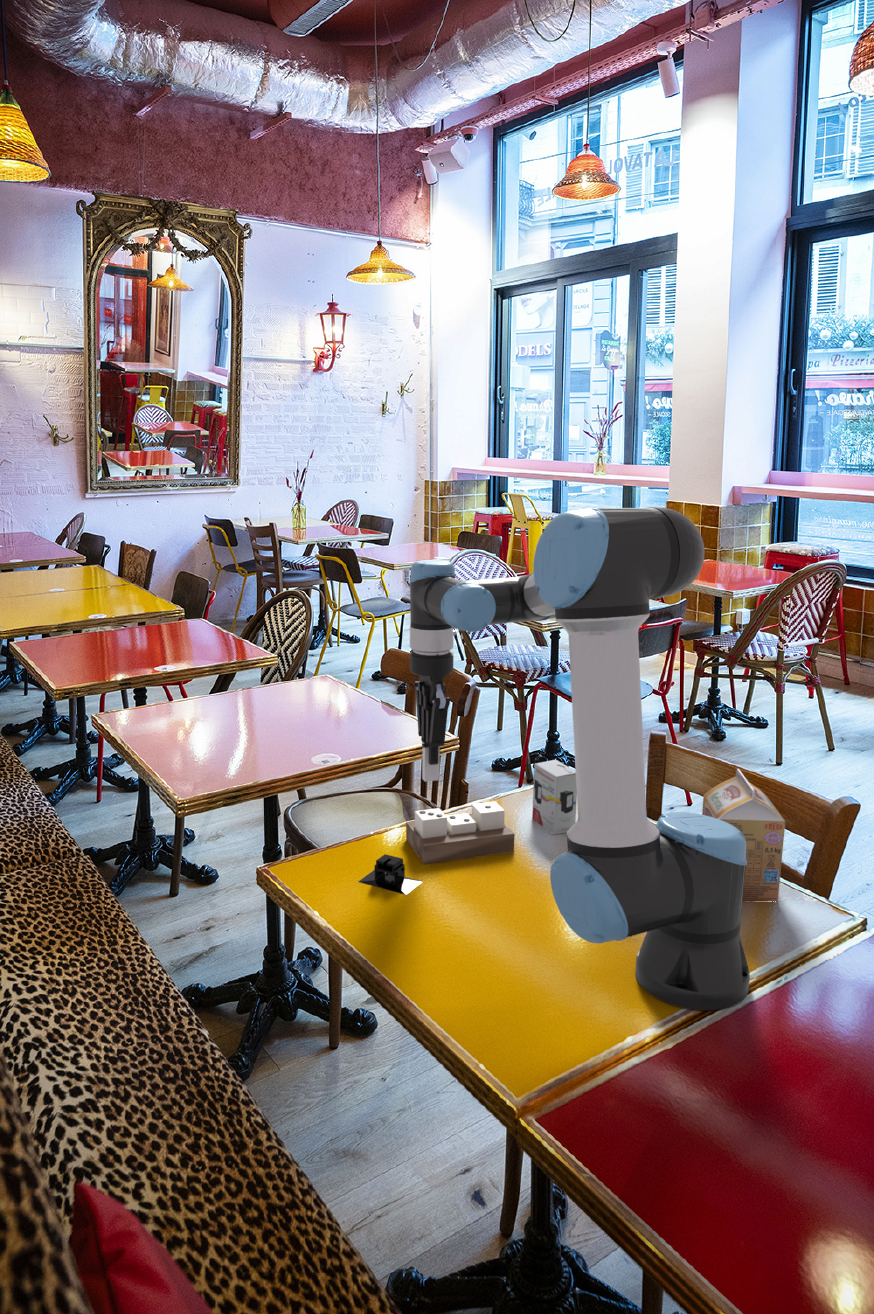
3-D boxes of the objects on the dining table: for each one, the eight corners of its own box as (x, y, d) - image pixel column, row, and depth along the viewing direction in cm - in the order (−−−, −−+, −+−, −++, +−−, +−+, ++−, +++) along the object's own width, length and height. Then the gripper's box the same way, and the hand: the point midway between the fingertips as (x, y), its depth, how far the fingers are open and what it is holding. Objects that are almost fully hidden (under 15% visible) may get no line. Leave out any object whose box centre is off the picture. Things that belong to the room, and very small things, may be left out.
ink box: (531, 819, 186) (532, 762, 184) (552, 815, 188) (554, 758, 186) (554, 835, 179) (556, 776, 176) (576, 831, 181) (578, 772, 178)
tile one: (504, 833, 174) (504, 809, 173) (480, 836, 172) (480, 812, 171) (494, 823, 178) (495, 800, 177) (471, 826, 177) (471, 803, 176)
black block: (347, 884, 160) (346, 859, 159) (370, 868, 166) (370, 843, 165) (411, 901, 154) (410, 875, 153) (432, 884, 160) (432, 858, 159)
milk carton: (777, 903, 153) (788, 791, 149) (711, 900, 154) (719, 789, 150) (760, 873, 163) (769, 769, 159) (698, 871, 164) (705, 767, 160)
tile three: (447, 841, 170) (447, 816, 169) (422, 844, 169) (422, 820, 168) (438, 831, 175) (439, 807, 174) (414, 834, 173) (414, 810, 172)
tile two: (475, 845, 172) (476, 821, 171) (451, 848, 171) (451, 824, 170) (466, 835, 177) (467, 812, 176) (443, 838, 175) (443, 815, 174)
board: (514, 851, 172) (514, 833, 171) (424, 864, 166) (424, 845, 166) (491, 828, 182) (491, 811, 181) (406, 839, 176) (406, 821, 176)
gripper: (465, 657, 159) (463, 790, 165) (440, 641, 171) (439, 765, 177) (422, 660, 157) (421, 794, 162) (400, 643, 169) (400, 769, 174)
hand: (430, 779), depth 170 cm, fingers closed
